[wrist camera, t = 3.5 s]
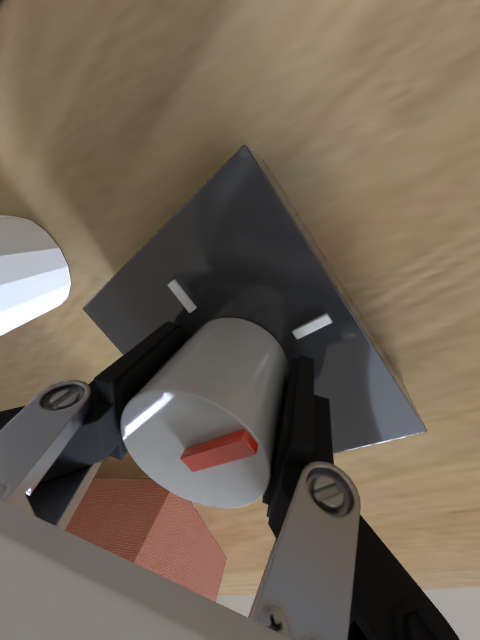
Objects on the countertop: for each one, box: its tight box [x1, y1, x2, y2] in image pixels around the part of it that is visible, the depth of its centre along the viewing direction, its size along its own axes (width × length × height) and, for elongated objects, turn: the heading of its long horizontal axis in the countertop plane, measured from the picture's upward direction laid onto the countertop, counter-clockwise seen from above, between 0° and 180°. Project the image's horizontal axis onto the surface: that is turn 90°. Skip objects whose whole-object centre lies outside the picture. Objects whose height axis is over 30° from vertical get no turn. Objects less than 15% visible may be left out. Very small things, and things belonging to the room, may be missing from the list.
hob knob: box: [120, 318, 288, 508], centre depth 8 cm, size 4×4×5 cm
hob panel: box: [83, 144, 427, 454], centre depth 12 cm, size 12×10×3 cm
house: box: [65, 479, 227, 602], centre depth 21 cm, size 12×20×12 cm, turn 113°
